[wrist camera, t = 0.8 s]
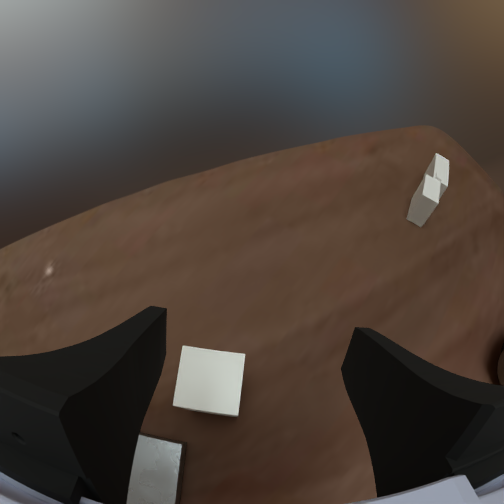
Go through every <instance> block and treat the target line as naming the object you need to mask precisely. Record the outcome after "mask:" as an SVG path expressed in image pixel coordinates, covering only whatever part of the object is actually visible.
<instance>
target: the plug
mask: <svg viewBox="0 0 504 504" xmlns="http://www.w3.org/2000/svg"><path fill="white" fill-rule="evenodd" d="M244 360H245V354H240V353H231V352H223V351H216V350H209V349H202V348H195V347H189V346H183V348H182V353H181V359H180V365H179V371H178V377H177V383H176V389H175V395H174V402H173V406H176V407H180V408H184V409H187V410H191V411H197V412H203V413H209V414H216V415H224V416H232V417H238V412H239V404H240V395H241V386H242V378H243V369H244Z"/></svg>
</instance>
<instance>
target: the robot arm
mask: <svg viewBox="0 0 504 504" xmlns="http://www.w3.org/2000/svg"><path fill="white" fill-rule="evenodd" d="M166 317H167V308H161V307H155V306H150V307H148V308H146V309H144V310H143V311H141V312H140V313H138V314H136V315H135V316H133V317H131V318H130V319H128V320H127V321H125V322H123V323H122V324H120V325H118V326H116V327H114V328H112V329H110V330H108V331H107V332H105V333H103V334H101V335H99V336H97V337H94V338H92V339H90V340H87V341H84V342H82V343H79V344H76V345H73V346H69V347H66V348H62V349H58V350H55V351H50V352H45V353H40V354H33V355H24V356H5V357H0V504H127V496H128V489H129V483H130V477H131V471H132V466H133V460H134V456H135V451H136V446H137V442H138V437H139V433H140V429H141V426H142V423H143V419H144V417H145V414H146V411H147V409H148V406H149V404H150V401H151V399H152V396H153V394H154V391H155V389H156V386H157V383H158V381H159V378H160V376H161V372H162V368H163V364H164V360H165V356H166ZM341 371H342V375H343V380H344V384H345V387H346V390H347V393H348V396H349V398H350V400H351V403H352V405H353V408H354V410H355V412H356V415H357V417H358V419H359V422H360V424H361V427H362V429H363V432H364V434H365V437H366V441H367V444H368V448H369V452H370V456H371V461H372V466H373V471H374V476H375V483H376V491H377V498H374V499H369V500H364V501H359V502H353V503H347V504H504V386H501V385H494V384H489V383H484V382H479V381H476V380H472V379H469V378H465V377H462V376H459V375H456V374H454V373H451V372H449V371H446V370H444V369H442V368H439V367H437V366H435V365H433V364H431V363H429V362H427V361H425V360H423V359H422V358H420V357H418V356H416V355H414V354H413V353H411V352H409V351H408V350H406V349H404V348H403V347H401V346H399V345H398V344H396V343H395V342H393V341H391V340H390V339H388V338H387V337H385V336H383V335H382V334H380V333H378V332H376V331H374V330H372V329H370V328H359V327H355V329H354V332H353V335H352V338H351V341H350V344H349V347H348V350H347V353H346V356H345V359H344V362H343V364H342V367H341Z"/></svg>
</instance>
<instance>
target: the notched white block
mask: <svg viewBox="0 0 504 504" xmlns="http://www.w3.org/2000/svg"><path fill="white" fill-rule="evenodd" d="M448 175H449V160H447V159H446V158H444V157H442V156H441V155H439V154H437V153H436V154H435V156H434V158H433V160H432V162H431V163H430V165H429V167H428V169H427V170H426V172H425V174H424V177H423V180H422V182H421V183H420V185H419V187H418V189H417V190H416V192H415V194H414V195H413V197H412V199H411V203H410V207H409V211H408V215H407V220H409V221H411V222H413V223H414V224H416V225H418V226H420V227H422V226H423V224H424V223H425V222H426V220H427V219H428V218H429V216H430V215H431V213H432V212H433V211H434V209H435V208H436V206H437V205H438V202H439V199H440V197H441V196H442V194H443V193H444V191H445V190H446V188H447V187H448Z"/></svg>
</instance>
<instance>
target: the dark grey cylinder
mask: <svg viewBox="0 0 504 504" xmlns="http://www.w3.org/2000/svg"><path fill="white" fill-rule="evenodd" d="M497 375H498V379H499V382H500V384H501V386H504V343H503V347H502V351H501V355H500V357H499V360H498V365H497Z"/></svg>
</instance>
